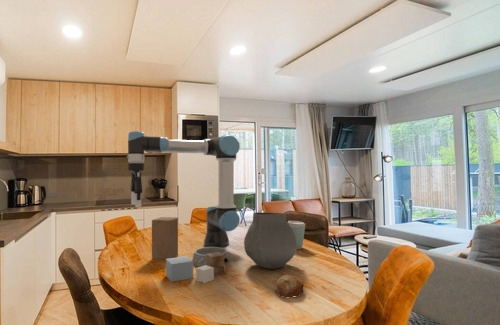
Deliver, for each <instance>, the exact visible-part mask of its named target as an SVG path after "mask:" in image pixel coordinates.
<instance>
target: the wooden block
mask: <svg viewBox="0 0 500 325" xmlns="http://www.w3.org/2000/svg"><path fill="white" fill-rule="evenodd" d="M178 255H179V218H178V217H176V216H175V217H171V216H170V217H169V216H162V217H157V218H154V219H151V259H152V260H154V261H155V260H157V261H158V260H161V261H166V259H169V258H176V257H178Z"/></svg>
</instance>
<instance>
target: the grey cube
mask: <svg viewBox="0 0 500 325" xmlns="http://www.w3.org/2000/svg"><path fill="white" fill-rule="evenodd" d="M195 277H196V278H195V280H196V281H198V282H199V283H200V282H201V283H203V284H206V283H208V282H211V281H214V279H215V278H214V277H215V276H214V267H210V266H207V265H204V266H198V267H196V268H195Z"/></svg>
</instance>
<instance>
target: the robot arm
mask: <svg viewBox="0 0 500 325" xmlns="http://www.w3.org/2000/svg"><path fill="white" fill-rule="evenodd" d="M127 139H128V140H127V151H128V152H127V156H126V158H127V161H128V163H127V170H128V171H130V172H131V175H130V176H131V180H130V182H131V183H130V191H131V193H130V194H131V195H130V196H131V197H130V200H131V202H130V203H131V205H133V206H134V207H135V208H142V193H143V185H142V172H143V171H145V163H144V162H145V153H148V154H153V153H155V154H157V153H158V154H160V153H161V154H162V153H163V154H164V153H165V154H203V155H204V156H214V157H215V159H216V161H217V162H218V203H217V205H216V206H208V207H207V208H206V212H205V213H206V233H205V236H204V240H203V245H204V246H205V247H220V248H223V247H227V246H229V245H230V240H229V237H228V233H227V232H232V231H235V230H236V229H237V228H238V226H239V224H240V221H241V220H240V215H239V214H238V212H237V206H236V205H235V204H234V202H235V200H234V195H235V194H234V191H235V190H234V187H235V186H234V181H235V180H234V175H235V174H234V172H235V170H234V167H235V166H234V165H235V164H234V163H235V161H237V154H238V152H239V151H240V146H241V145H240V142H239V139H237V138H236V137H235V136H234V135H230V134H226V135H225V134H224V135H222V136H217V137H214V138H204V139H202V140H193V139H189V140H187V139H169V138H168V137H166V136H150V135H149V136H147V135H145V132H143V131H139V130H137V131H135V130H134V131H133V130H132V131H130V132H128V135H127ZM141 171H142V172H141Z"/></svg>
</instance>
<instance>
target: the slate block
mask: <svg viewBox="0 0 500 325" xmlns="http://www.w3.org/2000/svg"><path fill="white" fill-rule="evenodd" d="M192 260H193V259H191V258H190V257H189V256H187V255H183V256H176V257H174V258H169V259H166V260H165V275H166V277H167V278H168V280H169V281H170V282H172V283H174V282H178V281H183V280H191V279H194V264H193V261H192Z"/></svg>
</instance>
